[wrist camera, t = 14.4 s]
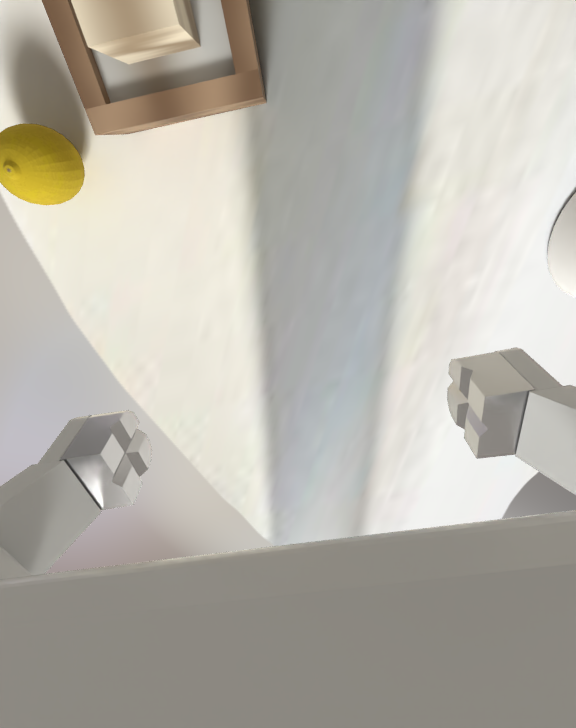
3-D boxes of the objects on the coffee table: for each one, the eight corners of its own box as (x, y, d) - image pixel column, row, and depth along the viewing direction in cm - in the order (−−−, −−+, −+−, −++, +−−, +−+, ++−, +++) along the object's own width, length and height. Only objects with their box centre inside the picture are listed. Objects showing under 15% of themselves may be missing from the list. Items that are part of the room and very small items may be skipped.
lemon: (106, 146, 31) (57, 150, 24) (92, 208, 34) (45, 227, 27) (37, 110, 30) (-35, 103, 23) (28, 177, 32) (-38, 189, 26)
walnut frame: (226, -124, 23) (210, -198, 18) (266, 102, 30) (263, 96, 24) (52, -75, 24) (-11, -132, 19) (127, 134, 31) (95, 135, 26)
